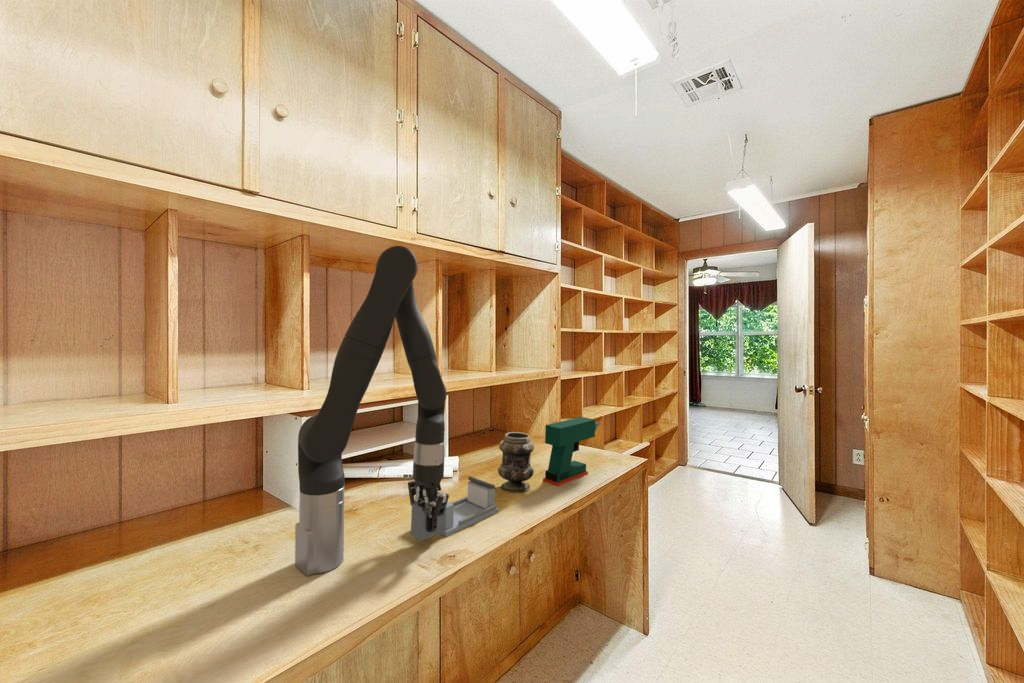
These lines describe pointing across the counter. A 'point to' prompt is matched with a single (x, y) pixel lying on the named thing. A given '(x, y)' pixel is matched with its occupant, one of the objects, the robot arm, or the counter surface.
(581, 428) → the power tool
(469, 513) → the vise base
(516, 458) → the apothecary jar
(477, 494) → the free jaw
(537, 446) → the counter surface
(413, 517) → the block
